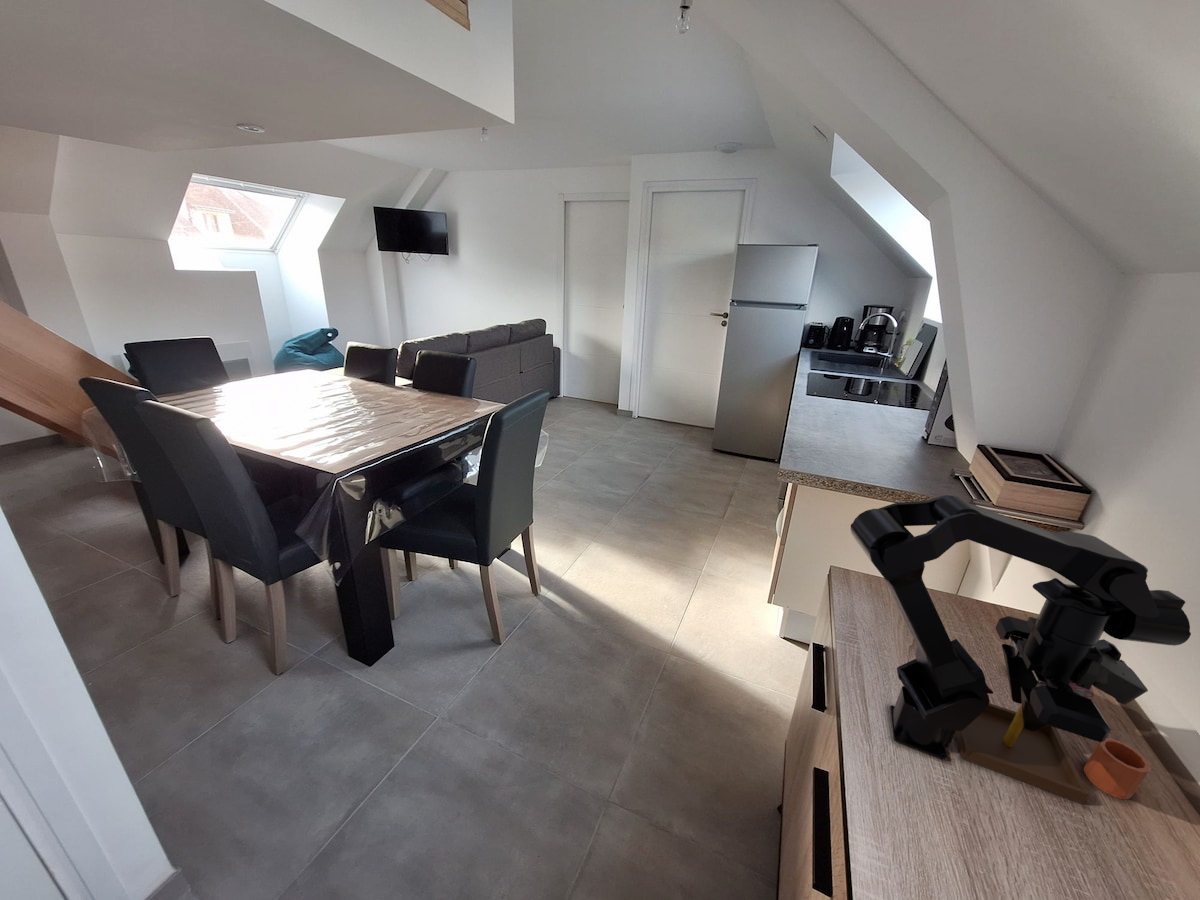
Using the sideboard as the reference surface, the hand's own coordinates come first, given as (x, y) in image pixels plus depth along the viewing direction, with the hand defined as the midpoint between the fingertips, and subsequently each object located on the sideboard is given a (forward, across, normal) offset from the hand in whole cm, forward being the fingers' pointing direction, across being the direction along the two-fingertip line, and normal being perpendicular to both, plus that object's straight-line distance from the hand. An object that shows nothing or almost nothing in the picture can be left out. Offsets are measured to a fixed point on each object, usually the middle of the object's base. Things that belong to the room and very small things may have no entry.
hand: (1022, 715), depth 65 cm
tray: (+6, 0, 0) cm, 6 cm away
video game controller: (+6, +16, -9) cm, 19 cm away
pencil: (+6, 0, 0) cm, 6 cm away
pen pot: (+6, 0, -11) cm, 13 cm away
